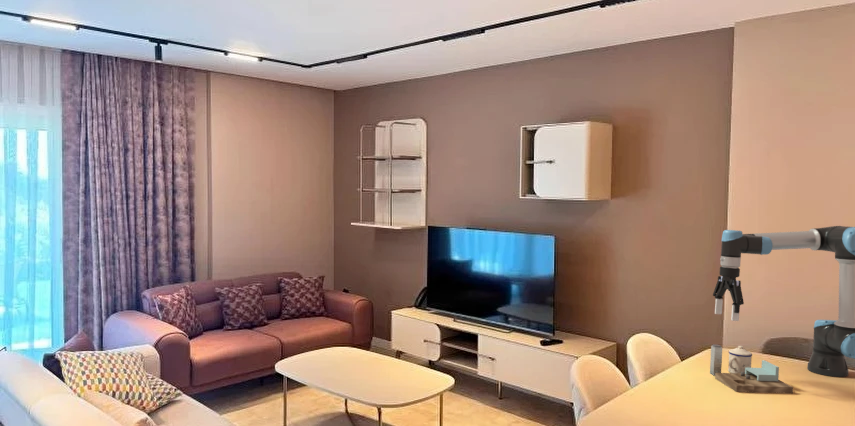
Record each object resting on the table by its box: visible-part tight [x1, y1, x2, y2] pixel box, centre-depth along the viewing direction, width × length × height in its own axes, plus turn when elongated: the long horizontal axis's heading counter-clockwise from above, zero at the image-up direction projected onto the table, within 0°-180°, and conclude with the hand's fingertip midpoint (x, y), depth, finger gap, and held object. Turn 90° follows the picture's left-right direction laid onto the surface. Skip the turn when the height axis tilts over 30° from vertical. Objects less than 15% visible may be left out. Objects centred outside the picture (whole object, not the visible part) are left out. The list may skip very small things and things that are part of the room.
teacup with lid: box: [727, 345, 753, 373], centre depth 261 cm, size 12×9×12 cm
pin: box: [709, 344, 723, 377], centre depth 258 cm, size 3×3×13 cm
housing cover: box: [745, 359, 780, 381], centre depth 247 cm, size 8×10×6 cm
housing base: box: [714, 372, 794, 395], centre depth 244 cm, size 22×17×4 cm
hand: (726, 317), depth 255 cm, fingers open, 13 cm apart
